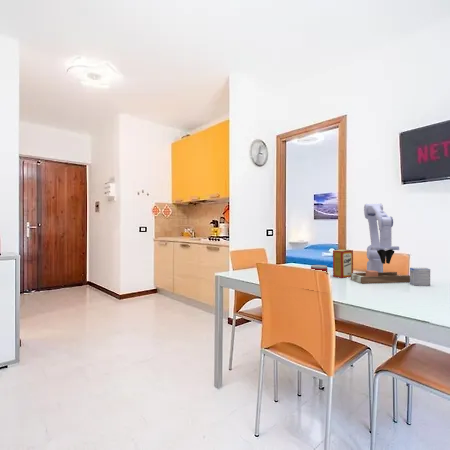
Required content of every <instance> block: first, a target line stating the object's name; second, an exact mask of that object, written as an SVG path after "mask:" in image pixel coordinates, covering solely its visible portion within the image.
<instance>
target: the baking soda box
mask: <svg viewBox="0 0 450 450" xmlns="http://www.w3.org/2000/svg"><path fill="white" fill-rule="evenodd" d="M351 273H354V250H352V249H344V248H343V249H334V250H332V276H333V277H334V278H338V277H339V278H340V279H345V278H346V279H348V278H351ZM333 277H332V278H333ZM347 277H348V278H347ZM339 278H338V279H339Z"/></svg>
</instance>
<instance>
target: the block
mask: <svg viewBox="0 0 450 450" xmlns="http://www.w3.org/2000/svg"><path fill="white" fill-rule="evenodd" d="M365 273H366V277H369V276H378V271H374V270H367V269H366V270H365Z"/></svg>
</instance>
